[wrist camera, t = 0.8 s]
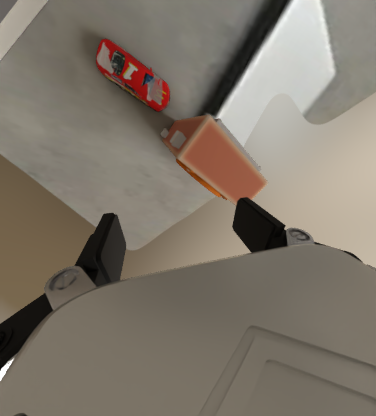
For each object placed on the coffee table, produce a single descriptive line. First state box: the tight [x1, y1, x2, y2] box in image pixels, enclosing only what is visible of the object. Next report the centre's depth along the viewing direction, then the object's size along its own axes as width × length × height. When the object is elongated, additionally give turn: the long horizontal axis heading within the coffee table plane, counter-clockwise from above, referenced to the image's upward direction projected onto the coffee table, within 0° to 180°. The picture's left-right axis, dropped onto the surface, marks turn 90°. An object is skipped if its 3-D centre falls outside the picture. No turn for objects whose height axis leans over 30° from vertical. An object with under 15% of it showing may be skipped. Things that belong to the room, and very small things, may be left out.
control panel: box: [160, 115, 268, 205], centre depth 27 cm, size 21×7×15 cm
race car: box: [96, 39, 170, 112], centre depth 26 cm, size 13×5×4 cm, turn 58°
